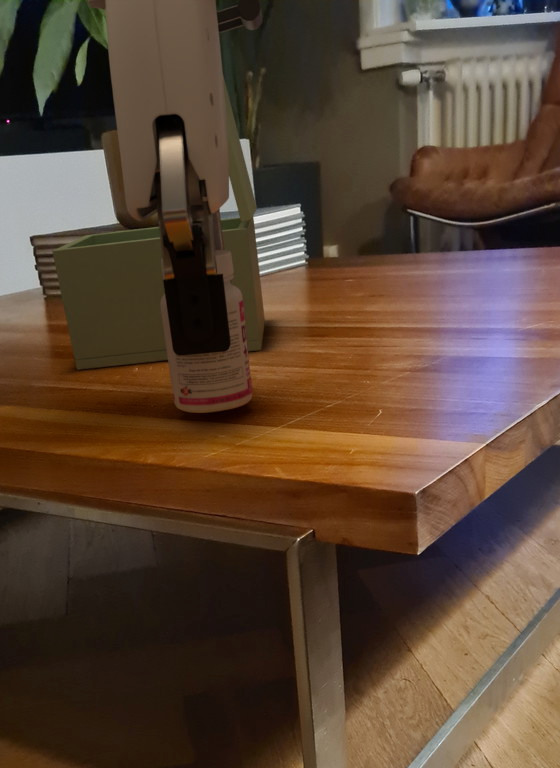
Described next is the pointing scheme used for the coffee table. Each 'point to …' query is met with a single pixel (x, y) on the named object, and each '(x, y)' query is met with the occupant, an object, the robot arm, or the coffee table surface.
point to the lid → (230, 19)
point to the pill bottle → (213, 358)
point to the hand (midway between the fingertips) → (206, 339)
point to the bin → (139, 293)
